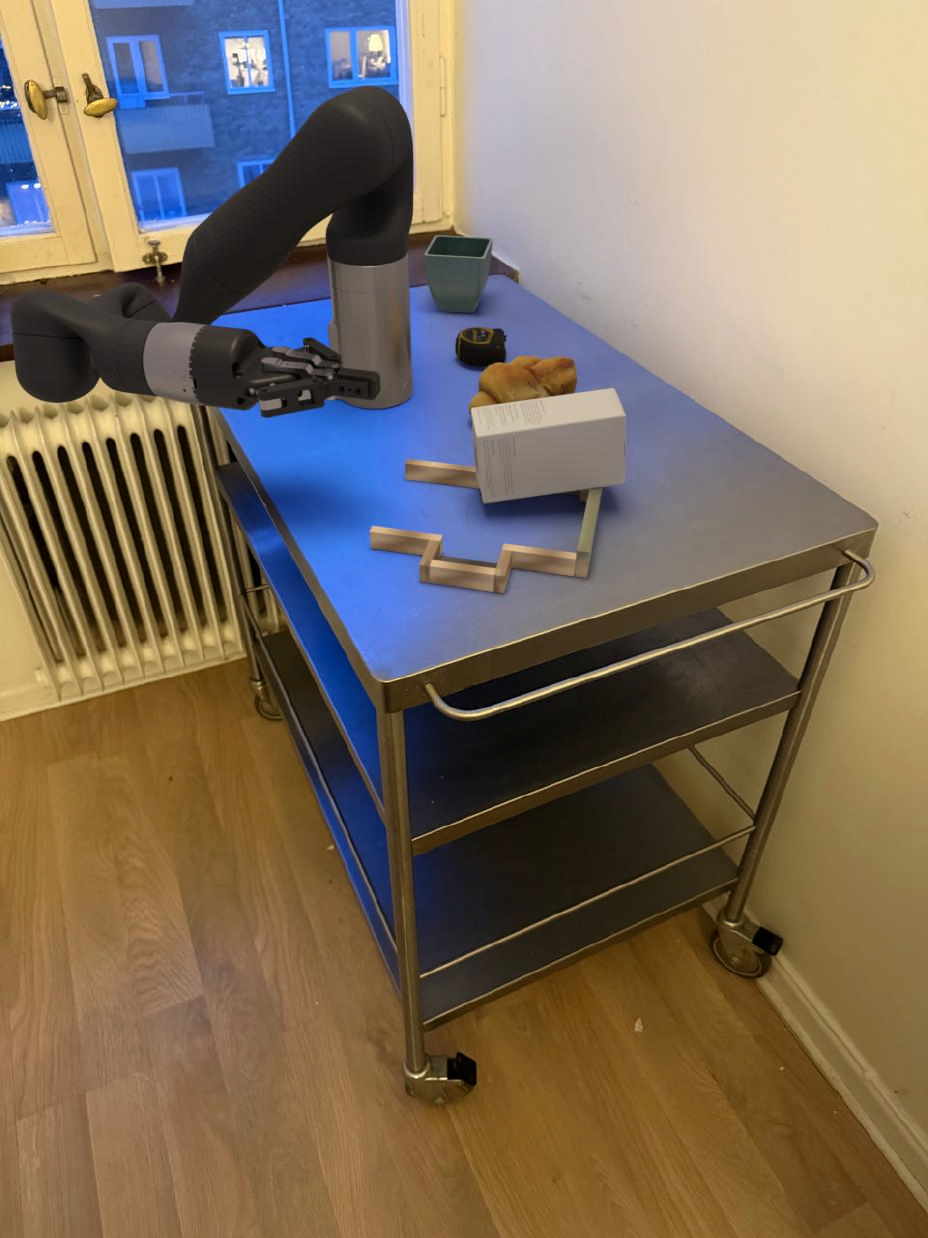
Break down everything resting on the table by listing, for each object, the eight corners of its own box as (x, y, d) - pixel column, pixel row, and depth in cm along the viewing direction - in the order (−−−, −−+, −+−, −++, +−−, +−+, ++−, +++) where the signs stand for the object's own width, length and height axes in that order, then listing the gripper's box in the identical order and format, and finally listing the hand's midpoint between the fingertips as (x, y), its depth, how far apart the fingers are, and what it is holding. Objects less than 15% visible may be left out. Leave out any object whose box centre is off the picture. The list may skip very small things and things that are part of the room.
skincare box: (474, 474, 93) (612, 456, 94) (482, 507, 89) (626, 487, 89) (469, 403, 87) (615, 384, 88) (476, 434, 83) (631, 414, 84)
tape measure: (505, 373, 116) (506, 346, 114) (453, 371, 116) (453, 344, 114) (506, 351, 121) (507, 325, 119) (456, 349, 121) (456, 323, 119)
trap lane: (358, 572, 83) (356, 547, 81) (422, 445, 101) (422, 421, 99) (581, 604, 80) (584, 578, 78) (606, 467, 98) (610, 443, 96)
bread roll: (479, 442, 102) (481, 377, 97) (453, 405, 109) (453, 343, 104) (581, 425, 105) (587, 362, 100) (549, 390, 112) (554, 329, 107)
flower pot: (424, 316, 130) (423, 253, 124) (435, 294, 137) (435, 233, 131) (483, 320, 129) (484, 257, 123) (491, 298, 136) (493, 237, 130)
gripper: (240, 372, 92) (399, 391, 89) (181, 433, 82) (357, 457, 79) (228, 301, 87) (396, 319, 84) (164, 357, 77) (351, 379, 74)
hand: (377, 386), depth 82 cm, fingers closed
